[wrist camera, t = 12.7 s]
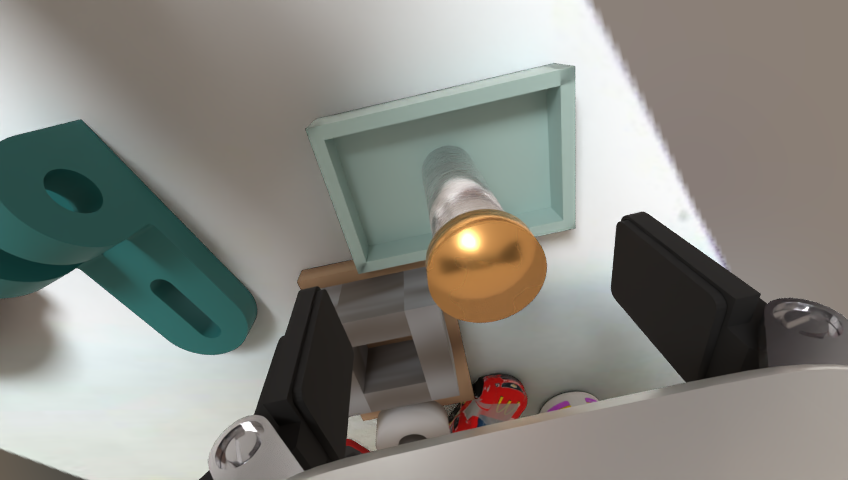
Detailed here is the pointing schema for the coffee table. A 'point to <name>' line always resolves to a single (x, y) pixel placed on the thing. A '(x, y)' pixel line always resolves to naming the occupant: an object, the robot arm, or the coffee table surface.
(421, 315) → the square socket fixture board
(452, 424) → the race car
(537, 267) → the pin
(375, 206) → the tray
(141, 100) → the coffee table surface
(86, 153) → the bracket
